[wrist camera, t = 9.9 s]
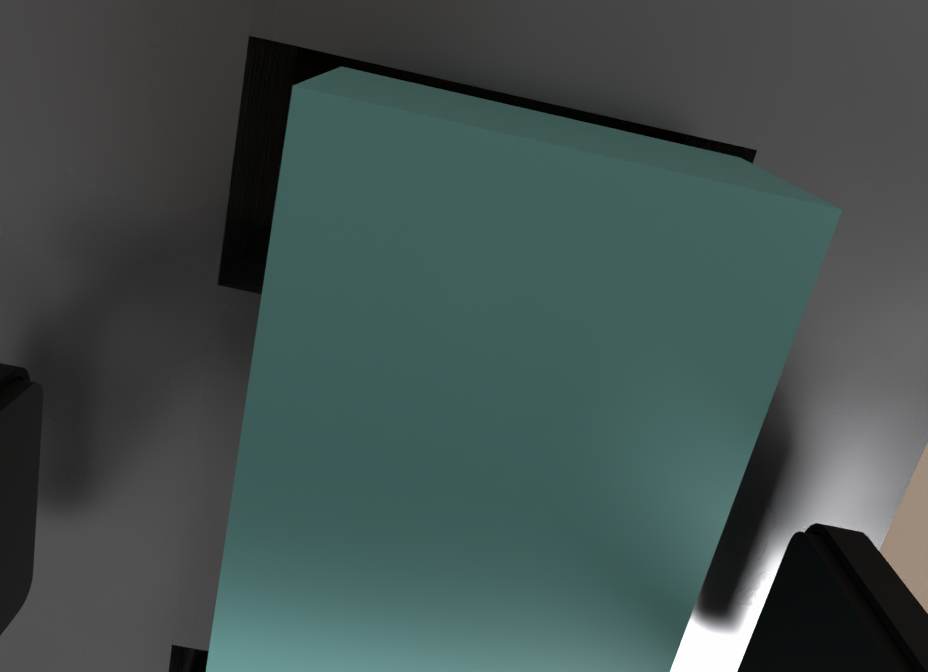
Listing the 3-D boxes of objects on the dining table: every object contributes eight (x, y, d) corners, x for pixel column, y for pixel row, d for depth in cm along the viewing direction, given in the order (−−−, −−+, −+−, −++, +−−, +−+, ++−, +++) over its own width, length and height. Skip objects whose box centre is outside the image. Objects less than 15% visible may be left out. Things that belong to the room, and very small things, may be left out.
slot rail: (17, 817, 17) (-73, 976, 14) (88, -436, 10) (-55, -607, 7) (615, 913, 18) (643, 1082, 15) (1041, -189, 11) (1238, -258, 8)
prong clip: (267, 677, 16) (143, 1091, 10) (379, 50, 12) (292, 86, 6) (484, 714, 16) (495, 1140, 10) (657, 115, 12) (842, 209, 6)
